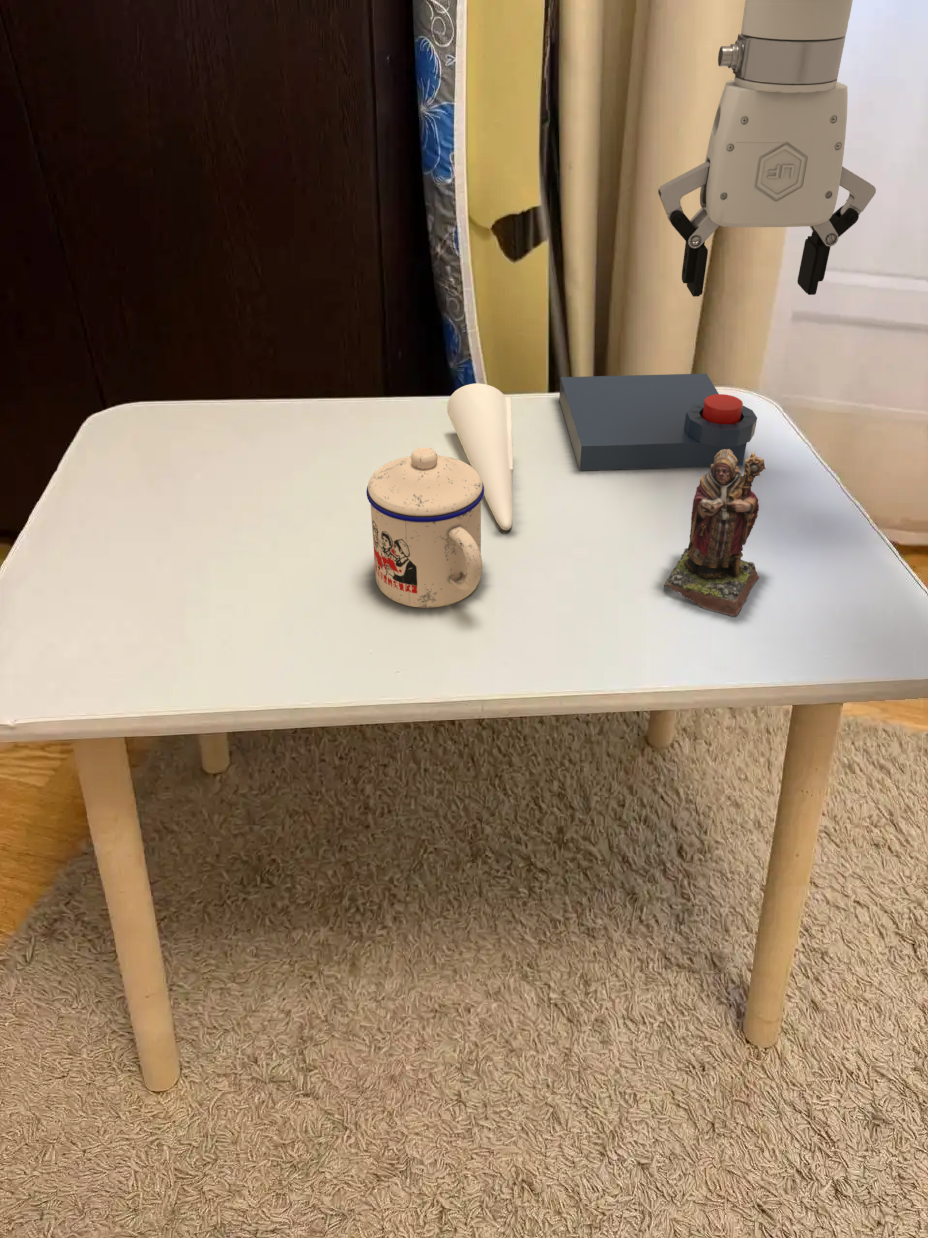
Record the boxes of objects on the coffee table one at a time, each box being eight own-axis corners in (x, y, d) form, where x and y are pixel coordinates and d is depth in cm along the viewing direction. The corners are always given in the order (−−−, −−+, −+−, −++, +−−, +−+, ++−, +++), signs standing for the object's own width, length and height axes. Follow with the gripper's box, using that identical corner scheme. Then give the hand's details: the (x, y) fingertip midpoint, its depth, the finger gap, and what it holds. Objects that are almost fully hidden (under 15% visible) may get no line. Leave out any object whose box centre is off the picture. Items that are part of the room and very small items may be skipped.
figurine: (683, 556, 84) (702, 427, 77) (760, 576, 82) (786, 445, 74) (657, 595, 80) (675, 461, 72) (737, 617, 77) (763, 482, 70)
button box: (712, 396, 109) (718, 357, 107) (756, 471, 96) (764, 428, 93) (559, 400, 109) (561, 360, 106) (581, 476, 95) (584, 433, 92)
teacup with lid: (353, 569, 83) (342, 443, 76) (446, 537, 87) (444, 415, 80) (426, 645, 75) (421, 512, 68) (525, 606, 78) (530, 477, 71)
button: (734, 409, 97) (737, 393, 96) (744, 426, 94) (747, 409, 93) (698, 410, 97) (700, 394, 96) (707, 427, 94) (709, 410, 93)
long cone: (439, 548, 88) (444, 429, 102) (510, 554, 89) (506, 434, 103) (444, 496, 84) (449, 380, 98) (519, 503, 85) (513, 386, 99)
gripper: (682, 72, 71) (656, 307, 82) (921, 69, 71) (865, 304, 82) (663, 56, 77) (641, 277, 87) (884, 54, 77) (836, 274, 88)
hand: (749, 290), depth 85 cm, fingers open, 9 cm apart
